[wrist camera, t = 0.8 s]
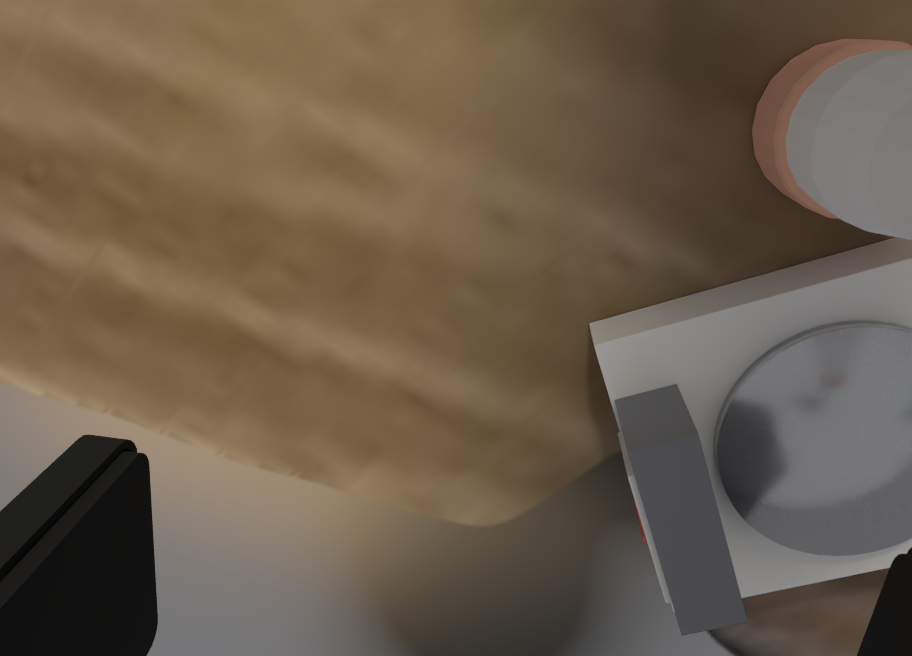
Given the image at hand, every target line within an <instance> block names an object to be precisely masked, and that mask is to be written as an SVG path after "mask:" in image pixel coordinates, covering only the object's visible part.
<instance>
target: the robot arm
mask: <svg viewBox="0 0 912 656" xmlns="http://www.w3.org/2000/svg"><path fill="white" fill-rule="evenodd" d="M154 561H155V560H154V543H153V525H152V507H151V489H150V471H149V461H148V458H147V456H146V455H145V454H143V453H137V448H136V446H135V444H134V443H133V442H132V441H131V440H126V439H117V438H110V437H103V436H95V435H84V436H82V437H81V438H79V439H78V440H77V441H76V442H75V443H74V444H72V445H71V446H70V447H69V448H68V449H67V450H66V451H65V452H64V453H63V454H62V455H61V456H60V457H58V458H57V459H56V460H55V461H54V462H53V463H52V464H51V465H50V466H49V467H48V468H47V469H46V470H44V471H43V472H42V473H41V474H40V475H39V476H38V477H37V478H36V479H35V480H34V481H33V482H32V483H31V484H29V485H28V486H27V487H26V488H25V489H24V490H23V491H22V492H21V493H20V494H19V495H18V496H16V497H15V498H14V499H13V500H12V501H11V502H10V503H9V504H8V505H7V506H6V507H5V508H4V509H2V510H1V511H0V656H146V655H147V654H148V652H149V650H150V648H151V646H152V644H153V641H154V638H155V634H156V630H157V624H158V615H157V597H156V579H155V562H154ZM857 656H912V547H911V548H910V549H909V550H908V552H907V554H899V555H897V556H896V557H895V558H894V560H893V562H892V564H891V566H890V569H889V571H888V574H887V577H886V579H885V582H884V585H883V587H882V590H881V593H880V595H879V598H878V601H877V604H876V606H875V609H874V612H873V614H872V617H871V620H870V622H869V625H868V628H867V630H866V633H865V636H864V638H863V641H862V644H861V646H860V649H859V652H858V654H857Z"/></svg>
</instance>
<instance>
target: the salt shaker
mask: <svg viewBox="0 0 912 656" xmlns="http://www.w3.org/2000/svg"><path fill="white" fill-rule="evenodd" d="M752 138H753V147H754V155H755V158H756V160H757V162H758V164H759V166H760V168H761V170H762V172H763V174H764V176H765V177H766V178H767V179H768V180H769V181H770V182H771V183H772V184H773V185H774V186H775V187H776V188H777V189H778V190H779V191H780V192H781V193H783V194H784V195H786V196H787V197H789V198H791V199H792V200H794V201H795V202H797V203H799V204H800V205H802V206H803V207H805V208H807V209H810V210H812V211H814V212H816V213H819V214H821V215H823V216H825V217H828V218H834V219H841V220H842V221H845V222H847V223H849V224H851V225H853V226H856V227H858V228H860V229H862V230H865V231H867V232H872V233H877V234H883V235H888V236H893V237H898V238H903V239H908V240H912V45H909V44H907V43H905V42H899V41H887V40H875V39H840V40H836V41H832V42H827V43H823V44H819V45H815V46H813V47H812V48H810V49H808V50H807V51H805V52H803V53H801V54H800V55H798V56H796V57H794V58H793V59H791V60H790V61H789V62H788V63H787V64H786V65H785V66H784V67H783V68H782V69H781V70H780V71H779V72H778V73H777V74H776V75H775V76H774V77H773V78H772V79H771V80H770V82H769V84H768V86H767V87H766V89H765V91H764V93H763V95H762V97H761V98H760V100H759V102H758V104H757V108H756V112H755V117H754V122H753V127H752Z"/></svg>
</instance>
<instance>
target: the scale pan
mask: <svg viewBox="0 0 912 656" xmlns="http://www.w3.org/2000/svg"><path fill="white" fill-rule="evenodd" d="M714 457H715V463H716V468H717V471H718V474H719V477H720V480H721V483H722V485H723V487H724V489H725V492H726V494H727V496H728V498H729V499H730V501H731V503H732V505H733V506H734V508H735V509H736V510H737V512H738V513H739V515H740V516H741V517H742V518H743V519H744V520H745V521H746V522H747V523H748V524H749V525H750V526H751V527H752V528H754V529H755V530H756V531H758V532H759V533H760V534H762V535H763V536H765V537H767V538H768V539H770V540H772V541H774V542H775V543H778V544H780V545H783V546H785V547H787V548H790V549H794V550H797V551H801V552H804V553H810V554H816V555H826V556H848V555H858V554H865V553H871V552H875V551H879V550H882V549H886V548H889V547H892V546H895V545H897V544H900V543H903V542H905V541H907V540H909V539H911V538H912V329H911V328H908V327H904V326H901V325H897V324H894V323H888V322H881V321H869V320H854V321H843V322H836V323H831V324H826V325H821V326H818V327H815V328H812V329H809V330H806V331H803V332H801V333H799V334H796V335H794V336H792V337H790V338H788V339H786V340H784V341H782V342H781V343H779V344H777V345H776V346H774V347H772V348H771V349H769V350H768V351H767V352H766V353H764V354H763V355H762V356H760V357H759V358H758V359H757V360H756V361H755V362H753V363H752V364H751V365H750V366H749V367H748V368H747V369H746V370H745V371H744V373H743V374H742V375H741V376H740V378H739V379H738V380H737V381H736V383H735V384H734V385H733V387H732V389H731V390H730V392H729V394H728V395H727V397H726V399H725V401H724V403H723V406H722V408H721V410H720V413H719V416H718V420H717V423H716V428H715V435H714Z"/></svg>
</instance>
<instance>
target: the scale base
mask: <svg viewBox="0 0 912 656" xmlns="http://www.w3.org/2000/svg"><path fill="white" fill-rule="evenodd" d="M854 320H869V321H881V322H888V323H894V324H897V325H901V326H904V327H908V328H911V329H912V240H908V239H903V238H898V237H895V238H891V239H888V240H884V241H880V242H877V243H873V244H870V245H866V246H863V247H859V248H855V249H852V250H848V251H845V252H841V253H838V254H834V255H831V256H827V257H823V258H820V259H816V260H813V261H809V262H806V263H802V264H799V265H795V266H791V267H788V268H784V269H781V270H777V271H774V272H770V273H766V274H763V275H759V276H756V277H752V278H749V279H745V280H742V281H738V282H734V283H731V284H727V285H724V286H720V287H717V288H713V289H709V290H706V291H702V292H699V293H695V294H692V295H688V296H685V297H681V298H677V299H674V300H670V301H667V302H663V303H660V304H656V305H652V306H649V307H645V308H642V309H638V310H635V311H631V312H628V313H624V314H620V315H617V316H613V317H610V318H606V319H603V320H599V321H596V322H592V323H589V326H590V330H591V335H592V339H593V344H594V348H595V351H596V354H597V358H598V361H599V364H600V368H601V371H602V374H603V378H604V381H605V385H606V388H607V391H608V395H609V398H610V401H611V405H612V408H613V411H614V415H615V418H616V421H617V425H618V428H619V431H620V432H619V433H618V437H619V442H620V446H621V450H622V454H623V459H624V463H625V467H626V472H627V475H628V479H629V483H630V486H631V489H632V493H633V496H634V499H635V500H634V503H635V507H636V512H637V516H638V520H639V524H640V529H641V533H642V537H643V541H644V543H648V546H649V549H650V553H651V555H652V559H653V562H654V566H655V569H656V572H657V576H658V579H659V583H660V586H661V589H662V592H663V596H664V599H665V603H666V604H667V603H671V606H672V609H673V612H675V614H676V617H677V621H678V624H679V627H680V631H681V634H682V635H687V634H692V633H696V632H702V631H707V630H712V629H717V628H722V627H727V626H732V625H737V624H742V623H747V622H748V621H747V617H746V613H745V609H744V606H743V602H742V598H744V597H749V596H754V595H759V594H764V593H769V592H774V591H778V590H783V589H788V588H793V587H798V586H803V585H807V584H812V583H817V582H822V581H827V580H832V579H837V578H841V577H846V576H851V575H856V574H861V573H866V572H870V571H875V570H880V569H885V568H890V566H891V564H892V562H893V560H894V558H895V557H896V556H897V555H899V554H907V552H908V550H909V549H910V548H911V547H912V538H911V539H909V540H907V541H905V542H903V543H900V544H897V545H895V546H892V547H889V548H886V549H882V550H879V551H875V552H871V553H865V554H858V555H848V556H826V555H816V554H810V553H804V552H801V551H797V550H794V549H790V548H787V547H785V546H783V545H780V544H778V543H775V542H774V541H772V540H770V539H768V538H767V537H765V536H763V535H762V534H760V533H759V532H758V531H756V530H755V529H754V528H752V527H751V526H750V525H749V524H748V523H747V522H746V521H745V520H744V519H743V518H742V517H741V516H740V515H739V513H738V512H737V510H736V509H735V508H734V506H733V505H732V503H731V501H730V499H729V498H728V496H727V494H726V492H725V489H724V487H723V485H722V483H721V480H720V477H719V474H718V471H717V468H716V463H715V457H714V435H715V428H716V423H717V420H718V416H719V413H720V410H721V408H722V406H723V403H724V401H725V399H726V397H727V395H728V394H729V392H730V390H731V389H732V387H733V385H734V384H735V383H736V381H737V380H738V379H739V378H740V376H741V375H742V374H743V373H744V371H745V370H746V369H747V368H748V367H749V366H750V365H751V364H752V363H753V362H755V361H756V360H757V359H758V358H759V357H760V356H762V355H763V354H764V353H766V352H767V351H768V350H769V349H771V348H772V347H774V346H776V345H777V344H779V343H781V342H782V341H784V340H786V339H788V338H790V337H792V336H794V335H796V334H799V333H801V332H803V331H806V330H809V329H812V328H815V327H818V326H821V325H826V324H831V323H836V322H843V321H854Z"/></svg>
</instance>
